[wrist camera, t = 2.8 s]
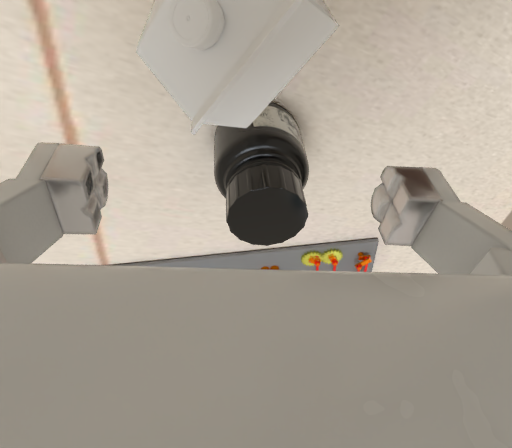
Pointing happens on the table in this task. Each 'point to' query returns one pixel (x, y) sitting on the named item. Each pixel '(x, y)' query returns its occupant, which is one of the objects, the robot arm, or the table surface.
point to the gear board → (286, 258)
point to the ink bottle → (263, 177)
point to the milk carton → (230, 53)
